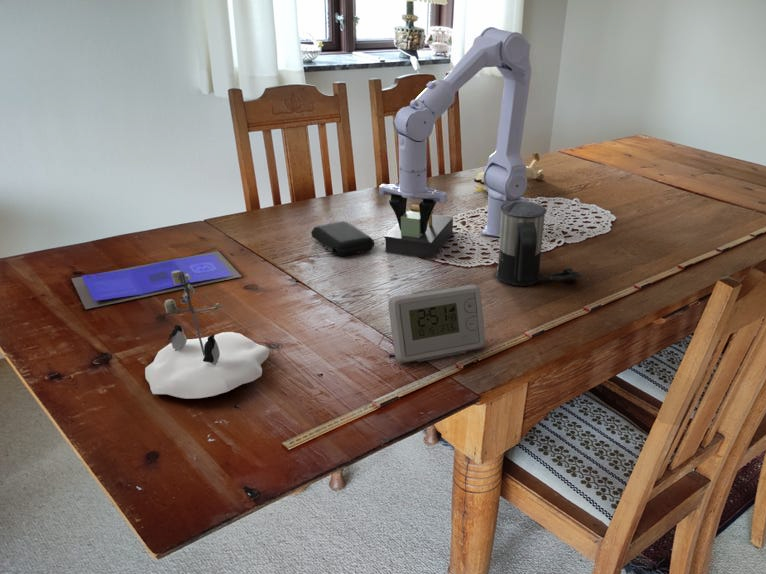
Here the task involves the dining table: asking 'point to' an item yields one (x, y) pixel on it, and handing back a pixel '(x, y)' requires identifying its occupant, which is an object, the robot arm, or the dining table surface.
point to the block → (411, 224)
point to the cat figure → (529, 174)
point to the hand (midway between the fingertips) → (413, 230)
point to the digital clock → (436, 323)
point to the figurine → (202, 358)
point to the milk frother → (524, 245)
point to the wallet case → (419, 245)
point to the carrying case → (342, 238)
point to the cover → (433, 231)
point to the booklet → (151, 279)
